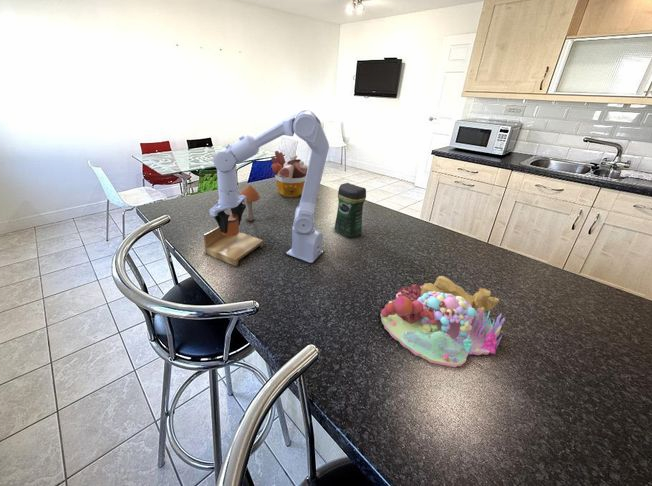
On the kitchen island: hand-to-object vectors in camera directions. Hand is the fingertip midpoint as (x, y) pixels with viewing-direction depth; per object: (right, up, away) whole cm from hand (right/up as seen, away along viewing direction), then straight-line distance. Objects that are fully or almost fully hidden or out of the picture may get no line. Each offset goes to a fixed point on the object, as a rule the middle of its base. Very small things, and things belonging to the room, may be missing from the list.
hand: (230, 228), depth 95 cm
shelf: (+1, -7, +2) cm, 8 cm away
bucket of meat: (+20, +14, +51) cm, 57 cm away
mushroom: (+4, +2, +22) cm, 23 cm away
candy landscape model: (+54, -21, -25) cm, 63 cm away
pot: (0, -1, +1) cm, 1 cm away
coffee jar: (+41, -2, +15) cm, 44 cm away
